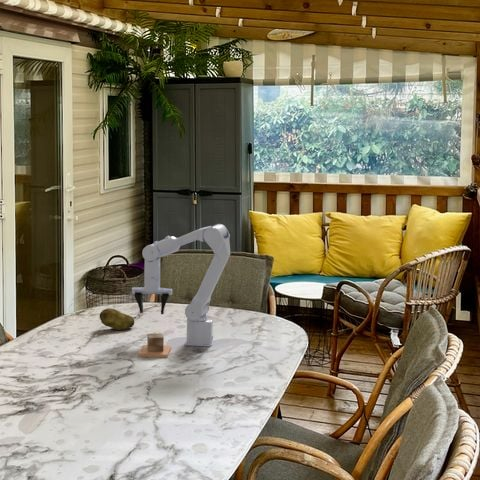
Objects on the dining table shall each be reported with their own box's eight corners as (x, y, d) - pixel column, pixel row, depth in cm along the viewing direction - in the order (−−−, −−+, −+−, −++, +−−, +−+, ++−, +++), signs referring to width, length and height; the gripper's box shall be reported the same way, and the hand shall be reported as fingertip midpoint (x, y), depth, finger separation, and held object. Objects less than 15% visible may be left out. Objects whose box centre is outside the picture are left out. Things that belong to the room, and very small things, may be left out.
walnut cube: (161, 347, 260) (161, 333, 260) (163, 351, 256) (163, 337, 255) (147, 347, 259) (147, 333, 259) (148, 352, 255) (148, 337, 254)
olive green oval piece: (132, 332, 281) (132, 311, 280) (97, 331, 281) (97, 310, 280) (135, 326, 289) (135, 306, 288) (102, 325, 289) (102, 305, 288)
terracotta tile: (171, 348, 262) (171, 346, 262) (167, 357, 252) (167, 354, 252) (143, 347, 263) (143, 344, 263) (138, 356, 253) (138, 353, 253)
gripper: (173, 275, 275) (173, 311, 277) (134, 273, 275) (134, 309, 277) (171, 279, 268) (170, 316, 270) (130, 277, 268) (130, 314, 270)
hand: (151, 313), depth 273 cm, fingers open, 7 cm apart
